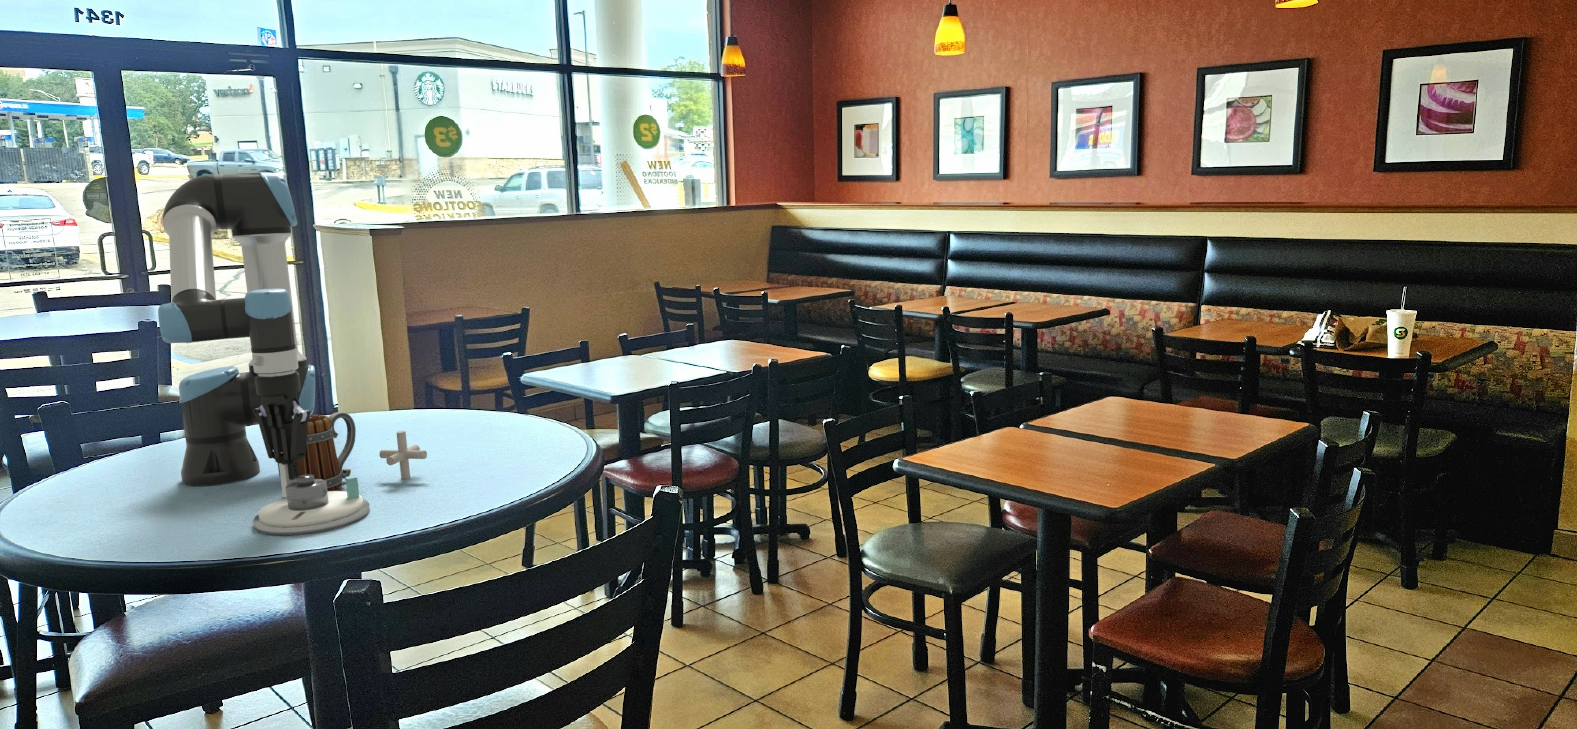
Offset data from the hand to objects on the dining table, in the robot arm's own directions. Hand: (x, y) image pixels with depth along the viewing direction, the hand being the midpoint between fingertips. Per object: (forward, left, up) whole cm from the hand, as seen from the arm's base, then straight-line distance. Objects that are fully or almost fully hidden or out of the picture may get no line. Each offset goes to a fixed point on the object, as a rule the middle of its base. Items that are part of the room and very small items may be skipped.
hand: (291, 495), depth 204 cm
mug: (-10, +16, -4) cm, 19 cm away
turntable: (+5, 0, -3) cm, 6 cm away
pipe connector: (+1, +27, -4) cm, 27 cm away
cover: (+4, 0, -2) cm, 4 cm away
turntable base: (+5, 0, -4) cm, 6 cm away
